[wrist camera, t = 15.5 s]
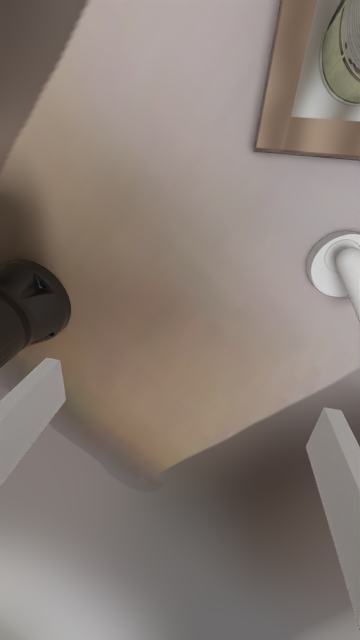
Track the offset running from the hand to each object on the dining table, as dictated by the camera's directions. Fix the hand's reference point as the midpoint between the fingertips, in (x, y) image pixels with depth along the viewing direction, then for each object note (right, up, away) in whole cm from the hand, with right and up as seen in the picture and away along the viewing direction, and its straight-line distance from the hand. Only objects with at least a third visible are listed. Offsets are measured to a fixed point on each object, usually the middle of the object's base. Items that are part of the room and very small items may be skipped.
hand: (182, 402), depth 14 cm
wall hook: (+23, +12, +25) cm, 36 cm away
